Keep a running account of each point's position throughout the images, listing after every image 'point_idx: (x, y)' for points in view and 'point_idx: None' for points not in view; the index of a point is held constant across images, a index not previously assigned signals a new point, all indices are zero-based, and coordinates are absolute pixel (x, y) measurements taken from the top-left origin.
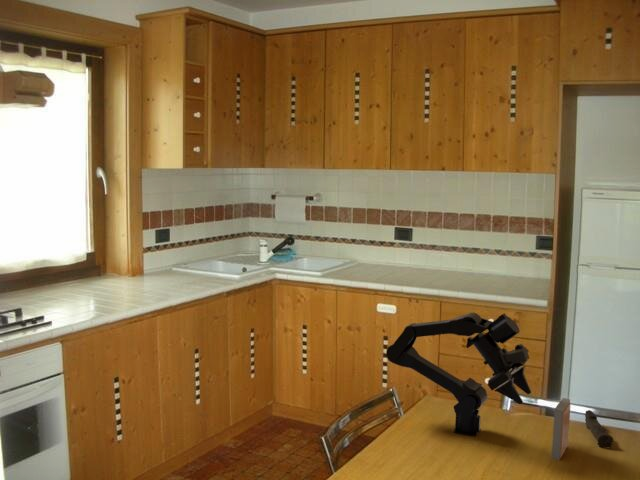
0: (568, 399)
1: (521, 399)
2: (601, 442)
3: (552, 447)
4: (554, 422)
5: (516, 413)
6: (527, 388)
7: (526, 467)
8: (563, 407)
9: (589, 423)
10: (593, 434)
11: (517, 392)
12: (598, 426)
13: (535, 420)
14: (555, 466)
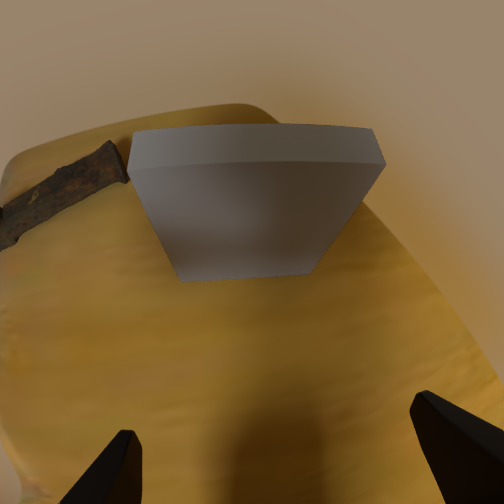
0: (144, 136)
1: (436, 402)
2: (124, 169)
3: (319, 258)
4: (354, 207)
5: (16, 462)
6: (126, 469)
7: (414, 313)
8: (322, 128)
9: (19, 223)
10: (64, 208)
11: (482, 435)
12: (47, 186)
13: (25, 401)
14: (352, 248)
